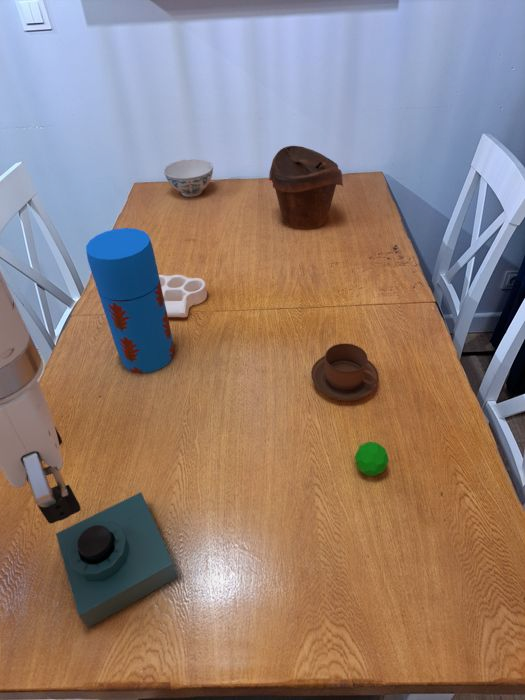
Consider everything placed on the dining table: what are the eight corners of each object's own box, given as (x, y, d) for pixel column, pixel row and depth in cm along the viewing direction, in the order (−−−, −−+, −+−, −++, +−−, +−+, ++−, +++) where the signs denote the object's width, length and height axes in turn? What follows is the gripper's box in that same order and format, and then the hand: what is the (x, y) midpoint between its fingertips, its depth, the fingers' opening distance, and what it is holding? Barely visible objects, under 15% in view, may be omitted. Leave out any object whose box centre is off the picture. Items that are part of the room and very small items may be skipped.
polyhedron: (392, 468, 75) (397, 449, 72) (373, 487, 73) (376, 469, 70) (366, 449, 78) (369, 430, 75) (346, 467, 76) (349, 448, 72)
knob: (86, 569, 60) (81, 562, 58) (78, 542, 62) (73, 535, 61) (118, 553, 61) (114, 545, 60) (108, 527, 64) (104, 519, 62)
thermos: (111, 369, 95) (72, 256, 78) (134, 334, 102) (103, 225, 86) (163, 377, 92) (134, 263, 76) (183, 340, 100) (161, 230, 84)
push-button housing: (88, 628, 60) (73, 609, 56) (65, 547, 68) (50, 525, 64) (178, 577, 64) (170, 555, 60) (146, 506, 72) (138, 483, 68)
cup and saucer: (382, 366, 92) (386, 342, 88) (370, 413, 84) (374, 388, 79) (320, 354, 95) (321, 329, 91) (303, 397, 87) (303, 372, 83)
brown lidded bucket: (334, 238, 129) (338, 171, 117) (262, 230, 134) (259, 165, 122) (346, 209, 141) (351, 145, 129) (280, 202, 146) (279, 140, 135)
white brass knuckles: (119, 321, 106) (135, 283, 117) (201, 321, 105) (210, 282, 116) (115, 309, 104) (132, 271, 115) (199, 308, 103) (208, 270, 113)
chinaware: (207, 204, 148) (203, 179, 143) (160, 201, 151) (156, 176, 146) (221, 183, 159) (219, 160, 154) (178, 181, 162) (174, 158, 157)
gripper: (-60, 324, 46) (10, 437, 58) (-54, 455, 35) (32, 565, 46) (23, 299, 49) (74, 413, 60) (55, 414, 37) (111, 528, 48)
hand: (56, 479), depth 53 cm, fingers open, 9 cm apart
